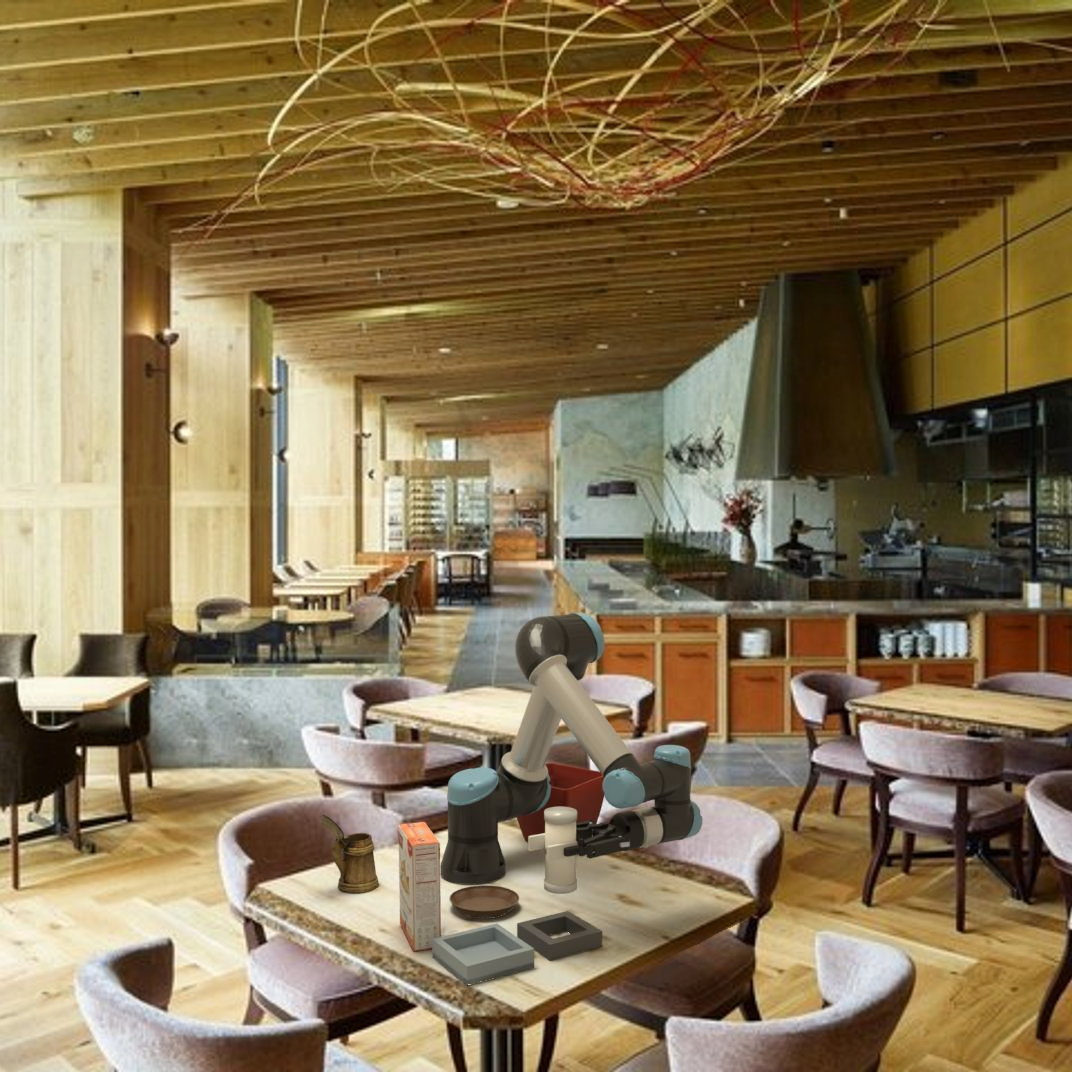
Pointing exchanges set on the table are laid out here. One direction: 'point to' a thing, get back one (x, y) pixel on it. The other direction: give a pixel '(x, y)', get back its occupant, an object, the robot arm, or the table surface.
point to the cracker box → (419, 884)
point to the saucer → (484, 901)
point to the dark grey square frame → (576, 942)
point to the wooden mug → (353, 859)
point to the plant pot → (568, 796)
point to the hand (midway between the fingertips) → (538, 848)
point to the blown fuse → (556, 832)
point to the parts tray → (482, 953)
